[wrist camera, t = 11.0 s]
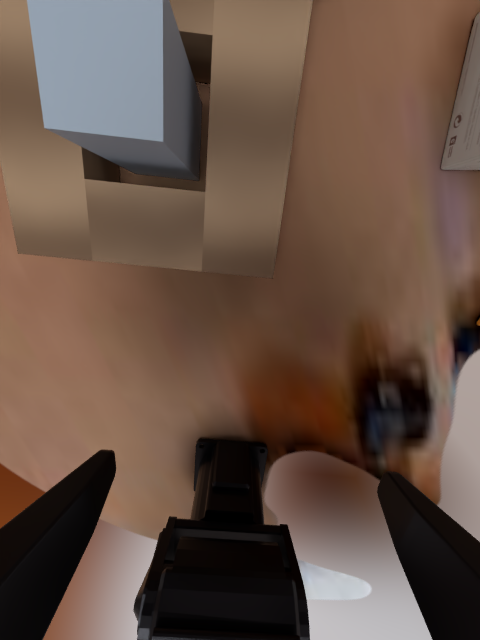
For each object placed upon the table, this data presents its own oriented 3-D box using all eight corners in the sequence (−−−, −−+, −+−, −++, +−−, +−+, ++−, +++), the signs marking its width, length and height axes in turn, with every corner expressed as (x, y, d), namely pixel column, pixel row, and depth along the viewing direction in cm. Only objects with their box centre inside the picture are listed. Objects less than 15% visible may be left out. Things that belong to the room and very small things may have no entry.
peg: (202, 104, 15) (162, -21, 7) (199, 180, 16) (163, 141, 9) (132, 95, 15) (21, -40, 7) (135, 173, 16) (44, 128, 9)
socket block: (266, 267, 18) (272, 278, 14) (65, 247, 18) (18, 253, 14) (301, -2, 13) (326, -92, 10) (27, -39, 13) (-61, -148, 9)
